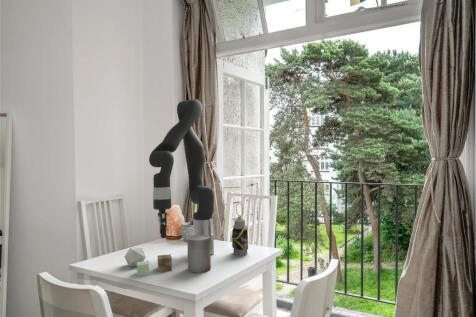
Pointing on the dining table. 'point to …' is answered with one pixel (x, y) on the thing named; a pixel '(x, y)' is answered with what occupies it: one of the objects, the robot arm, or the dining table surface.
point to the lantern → (240, 236)
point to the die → (134, 256)
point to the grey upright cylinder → (199, 253)
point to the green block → (142, 268)
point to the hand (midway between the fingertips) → (162, 235)
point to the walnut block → (164, 263)
